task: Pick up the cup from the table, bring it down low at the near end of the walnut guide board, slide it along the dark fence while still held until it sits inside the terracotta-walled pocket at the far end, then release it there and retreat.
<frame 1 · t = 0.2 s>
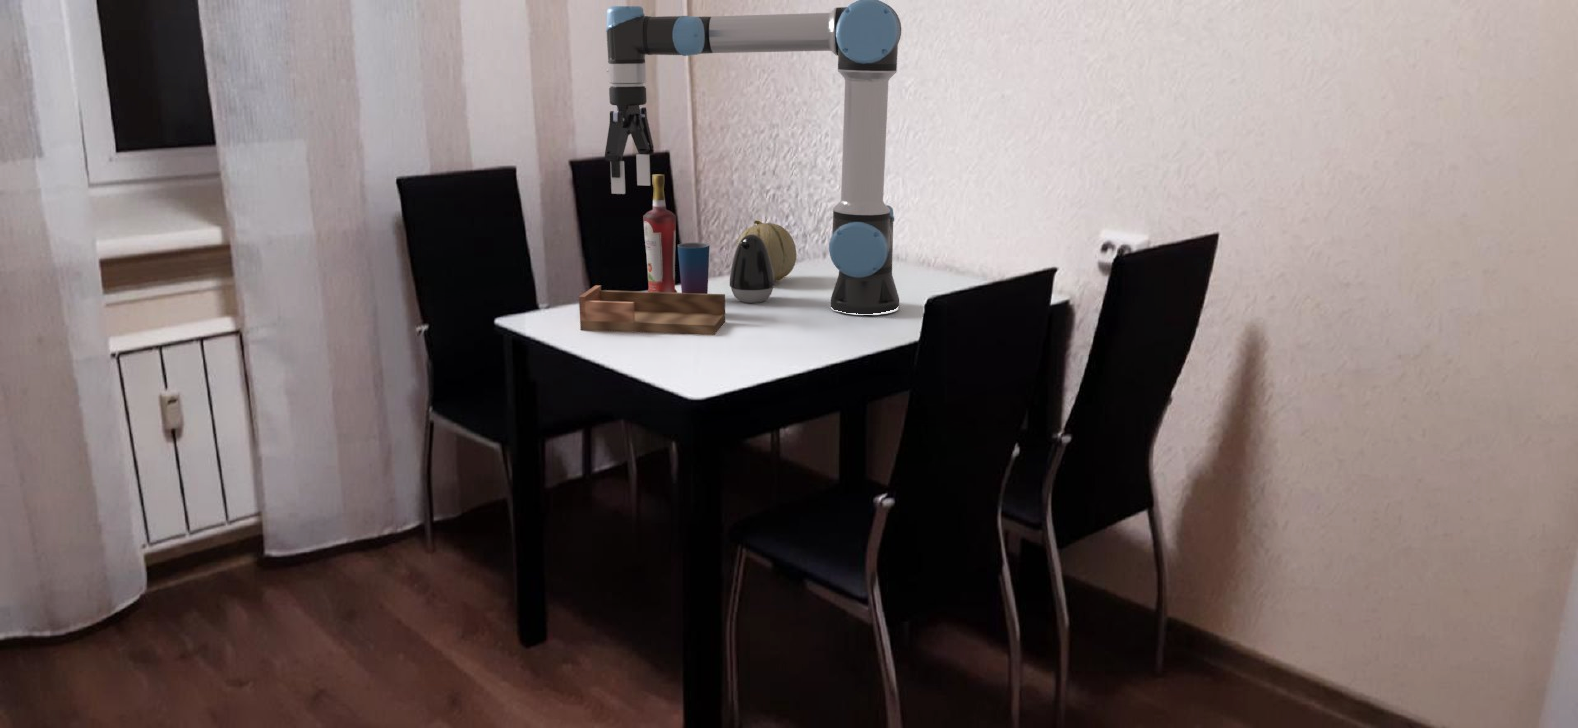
hand: (631, 189, 242), 27 cm above the table, fingers open, 13 cm apart
black egg-shaped device: (752, 301, 262), on the table
cup: (695, 314, 250), on the table
guide board: (653, 326, 240), on the table
cantaloupe: (766, 283, 281), on the table
liquor: (662, 298, 265), on the table
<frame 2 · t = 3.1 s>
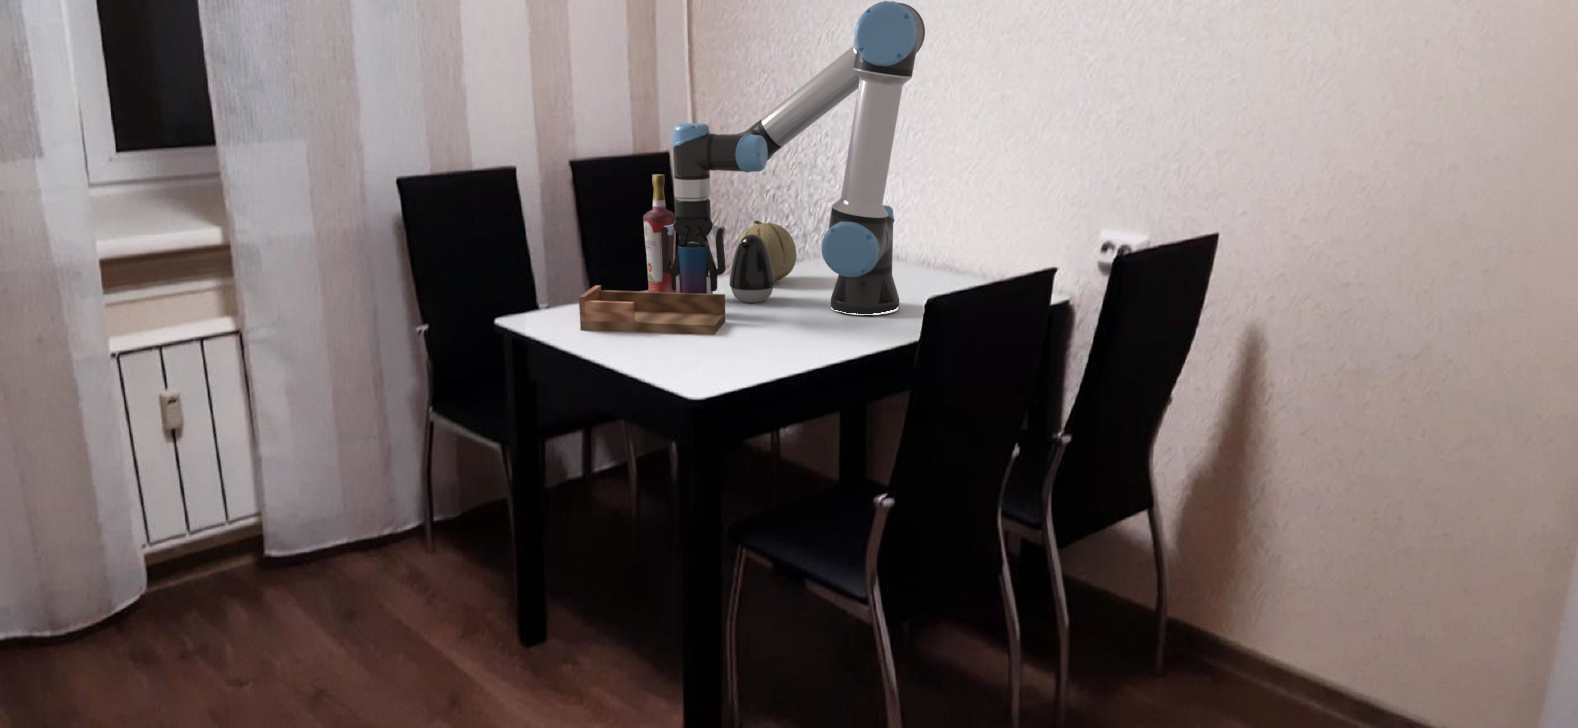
hand: (694, 305, 250), 2 cm above the table, fingers closed on cup, 6 cm apart
cup: (695, 314, 250), on the table, touching gripper
everything else where it was.
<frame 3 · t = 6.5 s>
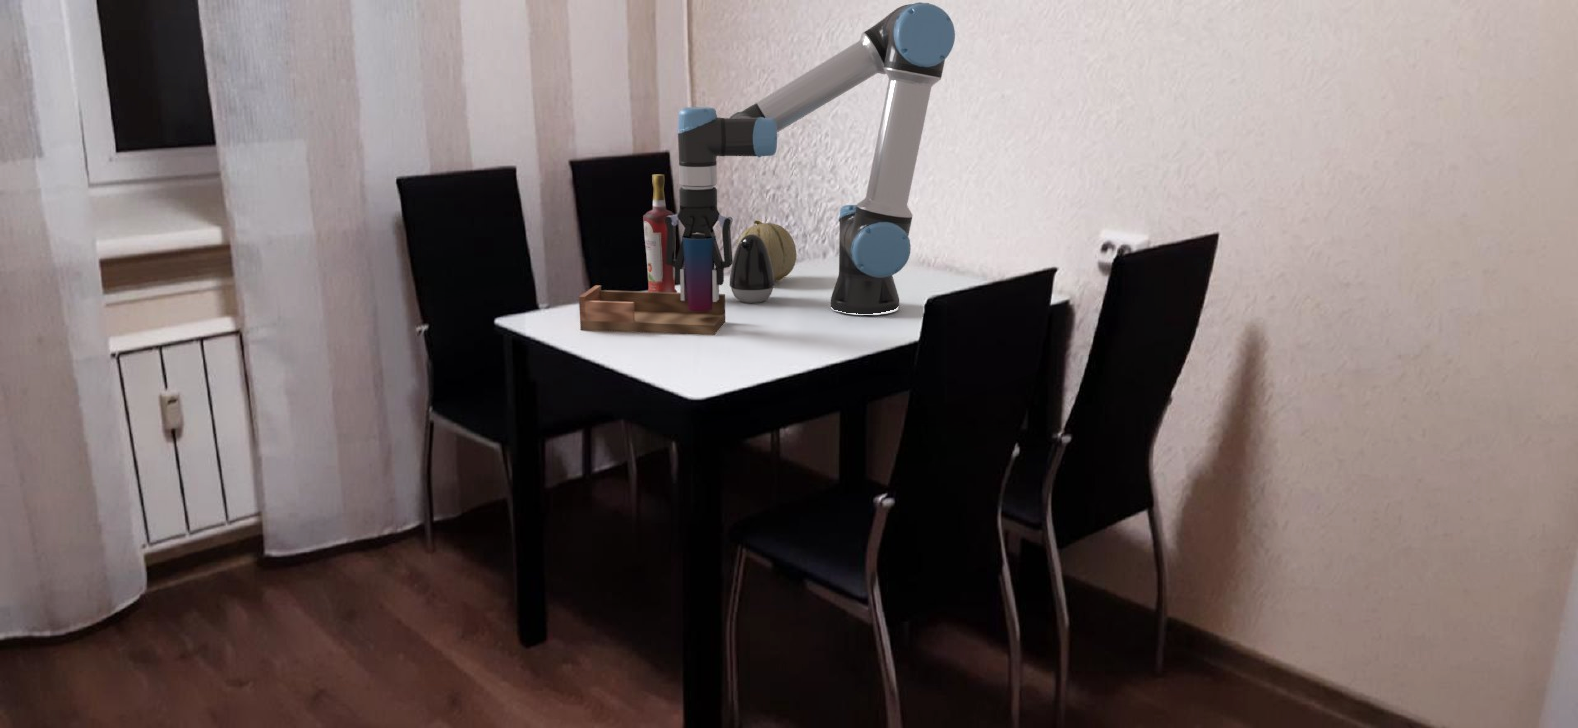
hand: (699, 299, 237), 6 cm above the table, fingers closed on cup, 6 cm apart
cup: (700, 309, 237), point 4 cm above the table, touching gripper
everything else where it was.
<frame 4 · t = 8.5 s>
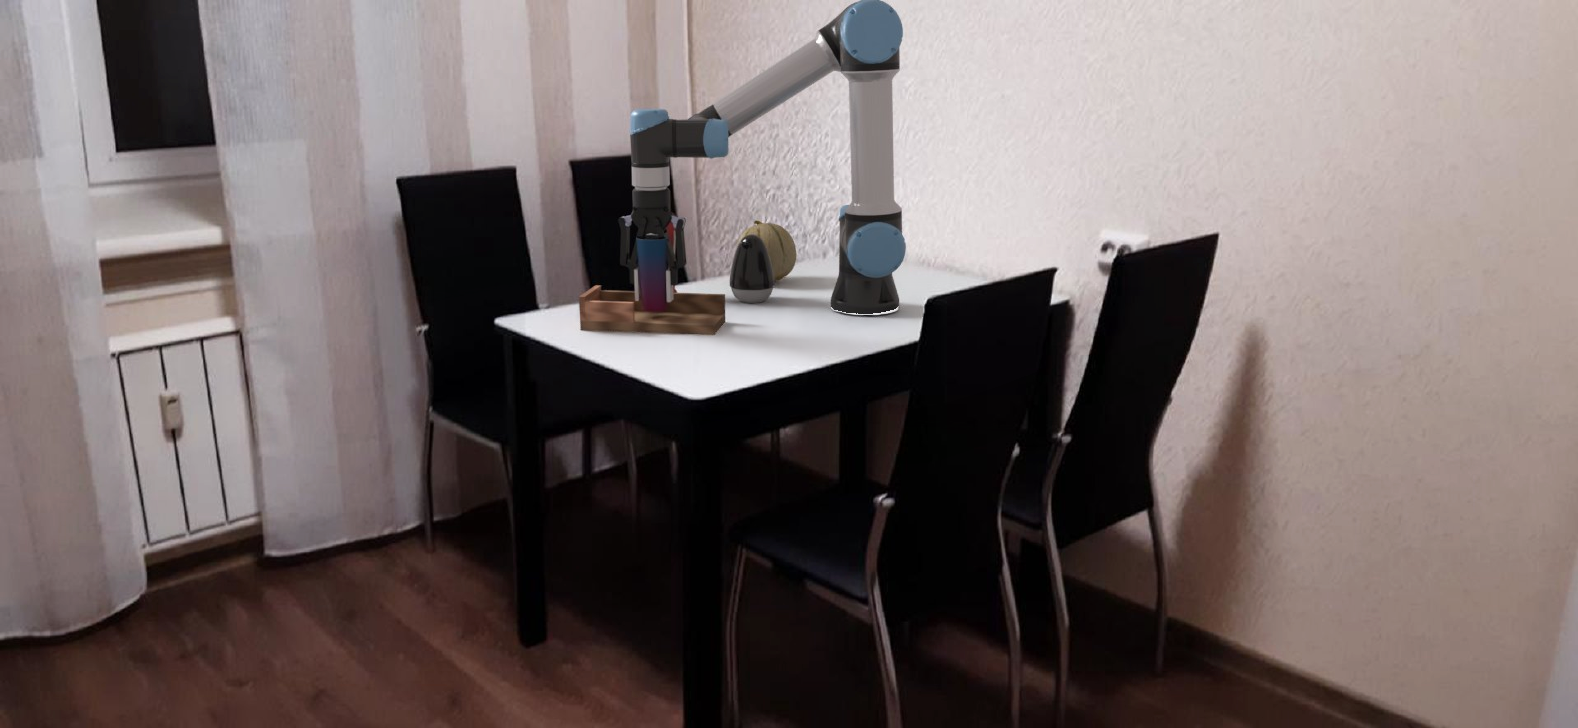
hand: (654, 299, 238), 6 cm above the table, fingers closed on cup, 6 cm apart
cup: (654, 309, 239), point 3 cm above the table, touching gripper
everything else where it was.
when the fingers open (5 cm above the table, at t = 10.1 s): cup drops 1 cm, resting on guide board.
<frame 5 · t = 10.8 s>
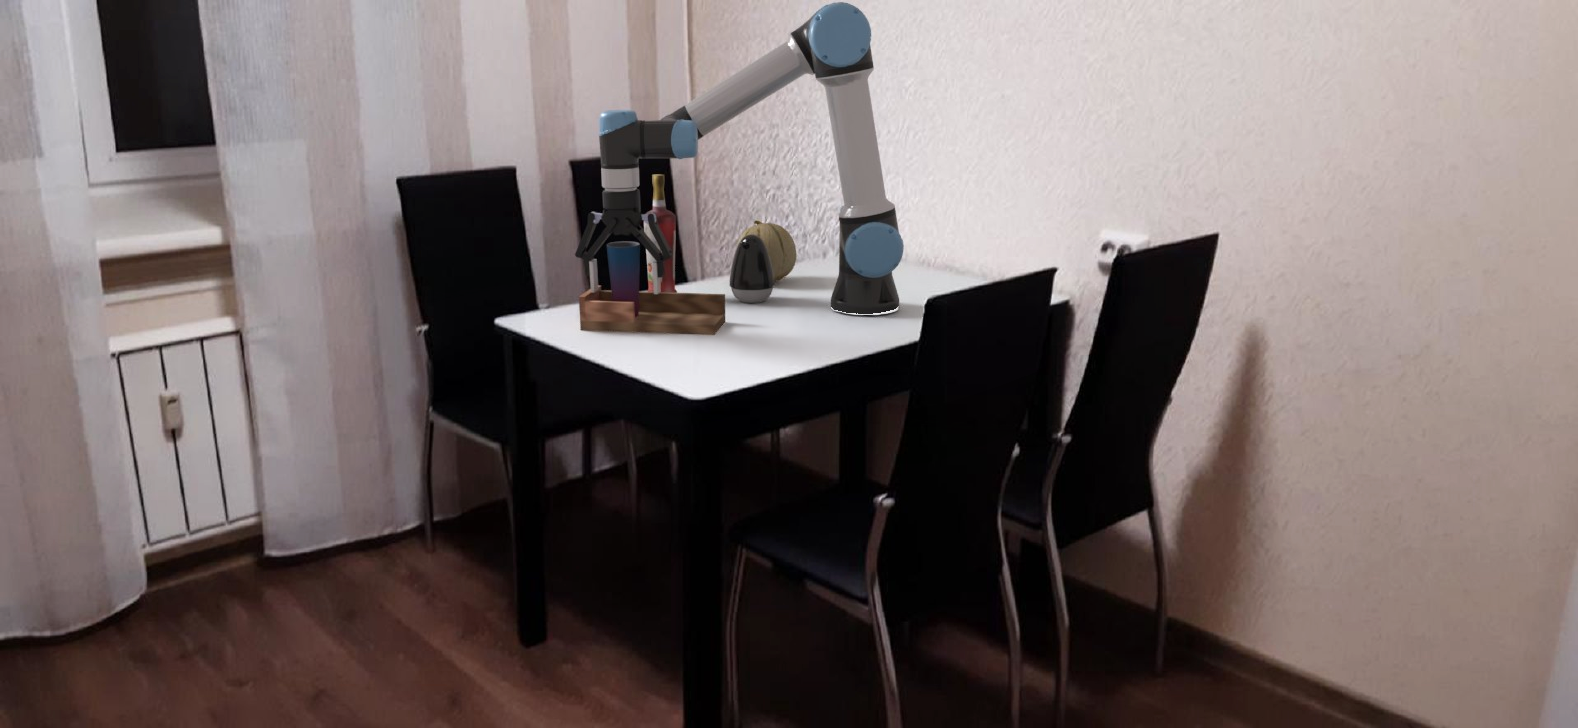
hand: (625, 292, 239), 7 cm above the table, fingers open, 13 cm apart
cup: (626, 316, 240), point 2 cm above the table, touching guide board
everything else where it was.
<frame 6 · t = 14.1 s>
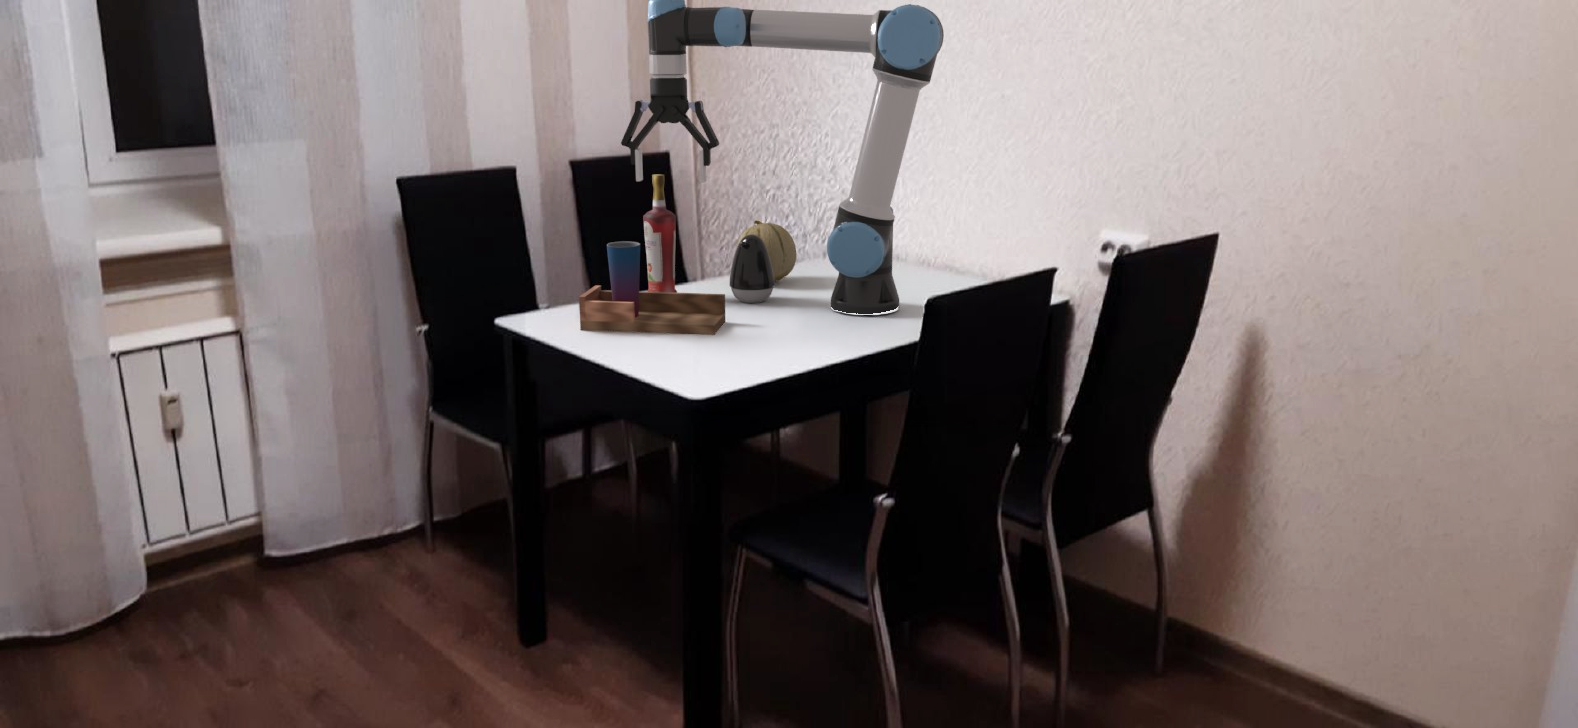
hand: (671, 181, 241), 29 cm above the table, fingers open, 13 cm apart
nothing on the table moved.
at the end: cup inside the target area (2.2 cm from its centre), point 1.8 cm above the table; cup tilted 0°; the gripper is holding nothing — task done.
